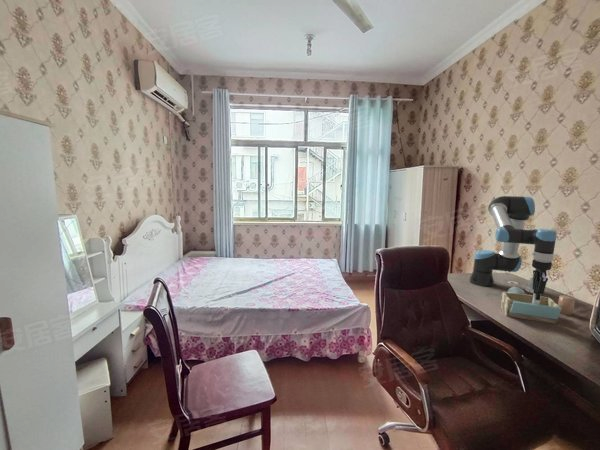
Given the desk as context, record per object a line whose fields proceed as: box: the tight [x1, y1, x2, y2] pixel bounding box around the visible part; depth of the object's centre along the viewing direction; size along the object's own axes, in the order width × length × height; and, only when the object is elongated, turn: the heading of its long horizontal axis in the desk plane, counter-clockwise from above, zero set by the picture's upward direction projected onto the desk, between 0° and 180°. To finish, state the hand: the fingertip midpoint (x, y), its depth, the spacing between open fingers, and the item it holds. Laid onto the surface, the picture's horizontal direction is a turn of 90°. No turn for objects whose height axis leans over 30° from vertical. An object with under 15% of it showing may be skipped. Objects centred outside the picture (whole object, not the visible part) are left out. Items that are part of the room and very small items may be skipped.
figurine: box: [525, 276, 534, 294], centre depth 195 cm, size 12×9×10 cm
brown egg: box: [557, 294, 576, 317], centre depth 162 cm, size 6×6×9 cm
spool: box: [507, 286, 526, 294], centre depth 178 cm, size 14×10×10 cm
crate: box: [499, 291, 560, 325], centre depth 160 cm, size 14×22×9 cm, turn 67°
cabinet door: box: [510, 301, 562, 320], centre depth 151 cm, size 1×20×9 cm, turn 68°
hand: (535, 305), depth 150 cm, fingers closed
